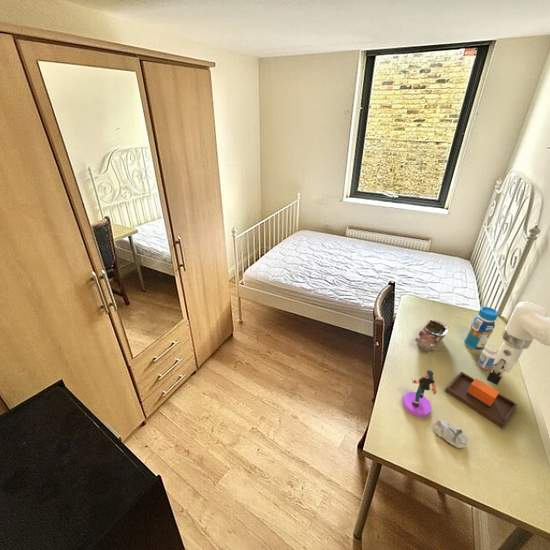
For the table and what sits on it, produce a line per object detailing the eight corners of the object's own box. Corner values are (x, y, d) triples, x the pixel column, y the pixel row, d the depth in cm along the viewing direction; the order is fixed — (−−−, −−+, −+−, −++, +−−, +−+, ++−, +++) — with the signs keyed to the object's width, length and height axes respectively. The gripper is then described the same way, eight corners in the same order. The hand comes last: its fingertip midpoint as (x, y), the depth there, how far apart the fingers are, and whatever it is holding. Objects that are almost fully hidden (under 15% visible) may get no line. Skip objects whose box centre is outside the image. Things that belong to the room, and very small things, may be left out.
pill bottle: (492, 365, 127) (501, 348, 122) (490, 372, 123) (499, 355, 118) (478, 358, 130) (486, 342, 125) (475, 365, 126) (483, 348, 122)
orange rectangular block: (493, 401, 109) (499, 391, 107) (489, 408, 107) (495, 398, 104) (470, 387, 115) (475, 378, 112) (466, 393, 112) (471, 383, 110)
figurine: (423, 395, 112) (437, 361, 103) (434, 417, 104) (450, 383, 95) (399, 394, 112) (410, 361, 104) (408, 416, 104) (421, 382, 95)
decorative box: (455, 345, 137) (462, 329, 132) (434, 364, 126) (441, 347, 122) (428, 330, 146) (433, 315, 141) (406, 347, 135) (411, 331, 131)
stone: (468, 437, 98) (470, 432, 97) (462, 454, 93) (465, 449, 92) (437, 419, 103) (439, 415, 102) (431, 434, 99) (433, 429, 97)
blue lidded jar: (462, 337, 142) (477, 303, 133) (482, 342, 139) (499, 308, 130) (464, 347, 136) (479, 313, 126) (485, 353, 133) (502, 318, 123)
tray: (515, 407, 108) (517, 404, 107) (502, 428, 101) (504, 425, 100) (459, 374, 122) (461, 371, 121) (444, 391, 114) (446, 388, 113)
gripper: (522, 355, 87) (500, 394, 95) (538, 333, 97) (517, 370, 105) (494, 342, 92) (475, 380, 101) (511, 322, 102) (493, 358, 110)
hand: (497, 375), depth 103 cm, fingers open, 9 cm apart
